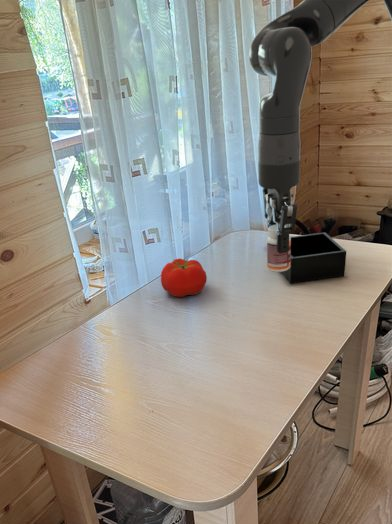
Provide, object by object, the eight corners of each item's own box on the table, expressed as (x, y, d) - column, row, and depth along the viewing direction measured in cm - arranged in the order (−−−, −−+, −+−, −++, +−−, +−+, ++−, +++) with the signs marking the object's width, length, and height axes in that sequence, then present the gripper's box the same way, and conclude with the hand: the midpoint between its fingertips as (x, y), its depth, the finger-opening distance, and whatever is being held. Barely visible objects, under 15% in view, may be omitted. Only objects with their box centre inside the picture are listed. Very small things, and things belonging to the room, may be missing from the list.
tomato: (212, 297, 121) (210, 268, 116) (166, 305, 119) (162, 275, 115) (201, 279, 129) (199, 251, 125) (159, 286, 128) (155, 258, 124)
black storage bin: (323, 256, 136) (325, 232, 133) (344, 276, 125) (346, 251, 121) (273, 262, 135) (274, 238, 131) (290, 284, 124) (291, 258, 120)
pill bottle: (293, 270, 102) (294, 229, 98) (270, 273, 102) (270, 233, 97) (286, 261, 106) (286, 221, 102) (263, 264, 106) (263, 225, 101)
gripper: (313, 164, 87) (309, 258, 96) (286, 147, 99) (285, 232, 108) (270, 169, 86) (270, 264, 95) (248, 152, 98) (250, 237, 107)
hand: (278, 246), depth 102 cm, fingers closed on pill bottle, 4 cm apart
